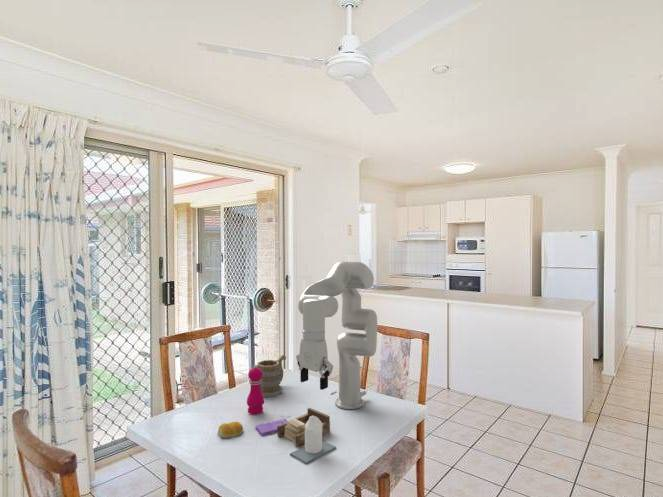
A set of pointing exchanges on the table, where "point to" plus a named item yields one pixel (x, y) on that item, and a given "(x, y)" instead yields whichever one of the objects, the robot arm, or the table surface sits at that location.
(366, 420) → the table surface
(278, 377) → the mortar and pestle
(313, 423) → the white tall rounded lump
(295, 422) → the offcut stack
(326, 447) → the mat
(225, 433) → the bread roll
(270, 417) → the table surface
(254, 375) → the pepper mill
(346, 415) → the table surface
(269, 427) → the sponges
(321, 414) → the rack
